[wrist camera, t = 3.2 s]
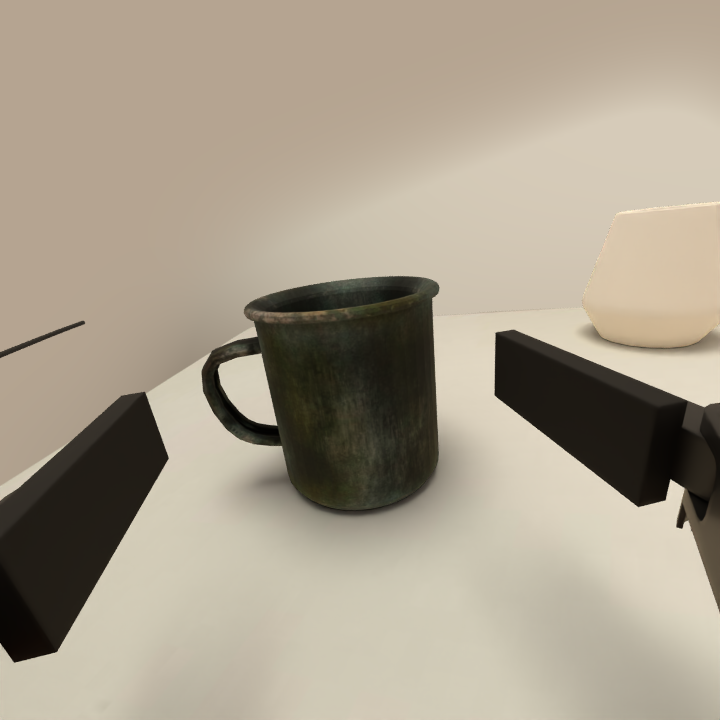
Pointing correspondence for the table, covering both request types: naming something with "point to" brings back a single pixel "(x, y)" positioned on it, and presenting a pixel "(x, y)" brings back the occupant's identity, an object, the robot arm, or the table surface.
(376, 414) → the mug
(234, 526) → the table surface
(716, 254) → the cup
